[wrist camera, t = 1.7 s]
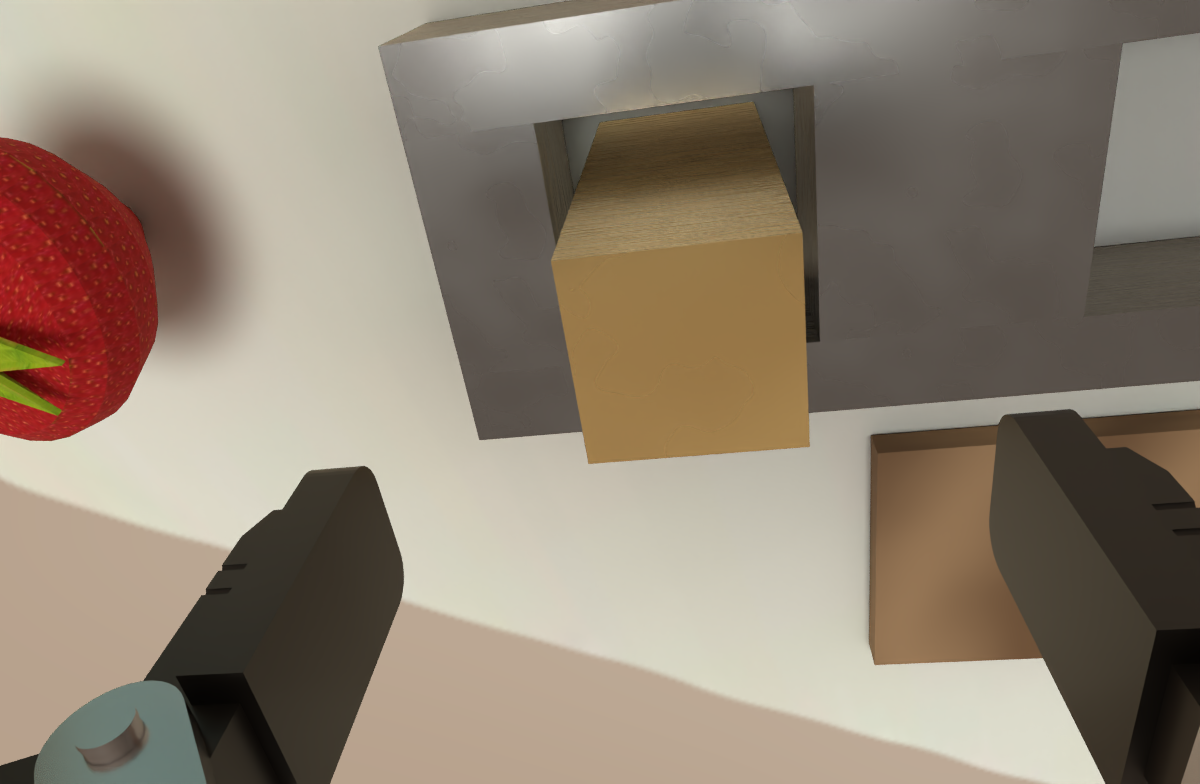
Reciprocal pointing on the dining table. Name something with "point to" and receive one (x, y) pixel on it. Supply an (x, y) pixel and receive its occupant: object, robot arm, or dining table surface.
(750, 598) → the dining table surface
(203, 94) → the dining table surface
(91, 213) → the strawberry
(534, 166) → the grey slotted block
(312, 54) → the dining table surface
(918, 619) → the walnut board
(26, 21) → the dining table surface
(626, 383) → the brass peg
